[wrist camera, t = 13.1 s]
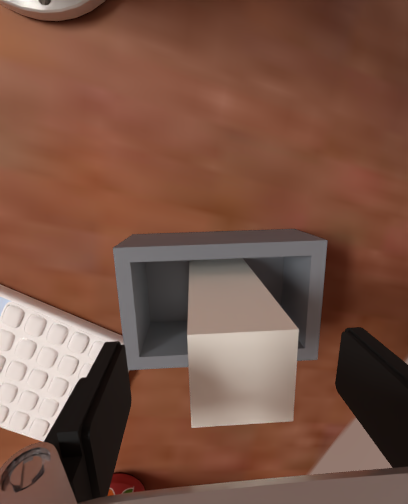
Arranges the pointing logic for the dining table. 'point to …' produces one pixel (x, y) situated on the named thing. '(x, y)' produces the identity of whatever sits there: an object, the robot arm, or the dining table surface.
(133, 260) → the grey open box
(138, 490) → the smoothie
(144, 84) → the dining table surface
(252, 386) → the post
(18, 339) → the calculator
